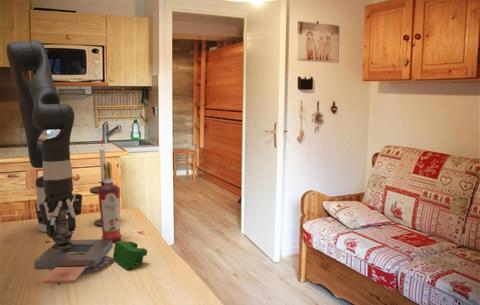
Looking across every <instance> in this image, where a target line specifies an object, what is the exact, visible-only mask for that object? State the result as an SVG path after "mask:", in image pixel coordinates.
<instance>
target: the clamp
mask: <svg viewBox="0 0 480 305" xmlns="http://www.w3.org/2000/svg"><path fill="white" fill-rule="evenodd" d="M147 254H148V249H146V248H144V247H143V248H139V247H138V243H137V242H135V241H127V240H126V241H125V240H123V241H121V240H120V241H119V240H118V241H116V242H114V248H113V253H112V258H113V260H114V261H115V263H118V264H119V265H120V266H122V267H123V268H124V269H126V270H127V269H130V270H131V269H132V270H133V269H134V267H135V265H136V264H138V265H139V264H143V260H144V257H146V256H147Z"/></svg>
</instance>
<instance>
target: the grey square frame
mask: <svg viewBox="0 0 480 305" xmlns="http://www.w3.org/2000/svg"><path fill="white" fill-rule="evenodd" d="M69 242H71V243H72V244H73V245H72V246H71V247H69V248H65V249H54V248H53V246H54V245H55V244H56V243H55V242H54V243H53V244H52V245H51V246H50V247H48V248H47V249H46V250H45V251H44V252H43V253H42V254H40V256H38V257H37V258H36V259H34V260H33V261H34V269H35V270H40V269H43V270H44V269H45V270H46V269H49V270H50V269H55V267H77V266H96V264H97V263H98V262H99V261H100V259H101V258H102V257H103V256H104V257H106V255H107V254H108V253H109V251H110V250H111V249H112V247H113V242H112V239H102V238H101V239H71V240H70V241H69ZM68 252H70V253H71V252H72V253H74V252H75V253H76V252H77V253H79V252H82V253H83V252H84V253H85V252H86V253H85V254H67V253H68ZM104 257H103V258H104ZM100 262H101V261H100ZM100 262H99V263H100ZM96 267H97V266H96Z"/></svg>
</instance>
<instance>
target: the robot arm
mask: <svg viewBox="0 0 480 305" xmlns="http://www.w3.org/2000/svg"><path fill="white" fill-rule="evenodd" d="M6 56H7V61H8V65H9V68H10V71H11V75H12V78H13V79H12V80H13V82H14V85H15V90H16V94H17V95H16V96H17V100H18V101H17V102H18V107H19V112H20V116H21V120H22V124H23V128H24V133H25V137H26V144H27V152H28V158H29V163H30V166H32V168H34V169H42V176H39V177H37V178H36V179H35V192H36V203H35V204H34V208H35V213H36V216H37V221H38V227H39V228H38V229H39V230H38V231H40V232H43V233H46V236H47V237H48V238H49V239H50V238H51V239H52V238H55V230H56V224H55V223H54V222H55V218H56V217H57V216H58V213H59V212H60V211H61V210H66V219H67V220H68V221H67V228H68V230H69V231H72V232H74V231H75V230H76V228H77V227H76V226H77V224H76V218H77V216H78V215H81V213H82V202H83V195H82V194H80V193H73V191H74V184H73V168H72V167H73V166H72V163H71V152H70V151H71V150H70V141H71V135H72V130H73V127H74V123H75V110H74V109H73V108H72V107H71V105H70V104H67V103H61V96H60V95H59V92H58V90H57V86H55V82H54V79H53V75H52V70H51V65H50V61H49V57H48V53H47V50H46V48H45V45H44V44H43V43H42V42H41V41H40V40H37V39H36V40H35V39H33V40H22V41H20V40H19V41H13V42H9V43H7V45H6ZM31 71H32V72H33V71H35V73H34V74H33V76H32V77H31V79H30V80H29V79H28V78H27V77H26V75H25V74H24V73H25V72H31ZM52 130H53V131H54V130H56V131H57V130H58V134H57V135H56V136H54V137H50V138H47V139H44V140H42V142H41V143H39V138H40V137H41V135H42V134H43V132H45V131H52Z"/></svg>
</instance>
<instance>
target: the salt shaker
mask: <svg viewBox="0 0 480 305" xmlns="http://www.w3.org/2000/svg"><path fill="white" fill-rule="evenodd" d="M67 221H68V220H67V215H66V210H61V211H60V212H59V213H58V216H57V217H56V218H55V222H54V223H55V224H56V230H55V238H51V239H52V241H53V242H54V244H55V243H56V244H55V245H54V244H53V245H54V246H53V245H52V246H53V248H54V249H65V248H69V247H71V246H72V245H73V244H72V243H71V242H69V241H70V240H72V238H73V234H74V231H69V230H68V225H67Z"/></svg>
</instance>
